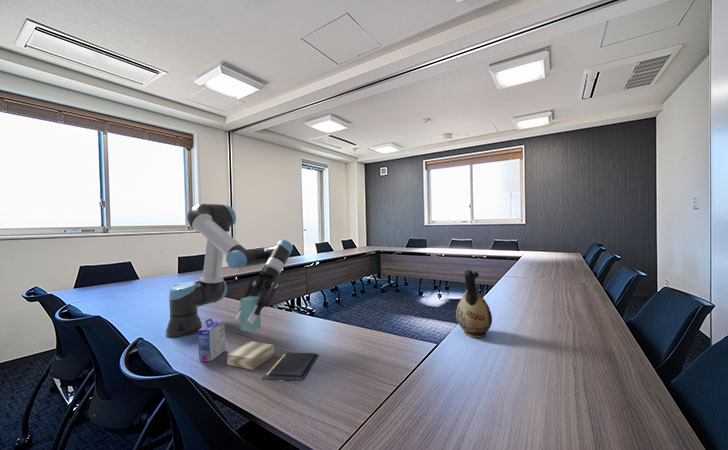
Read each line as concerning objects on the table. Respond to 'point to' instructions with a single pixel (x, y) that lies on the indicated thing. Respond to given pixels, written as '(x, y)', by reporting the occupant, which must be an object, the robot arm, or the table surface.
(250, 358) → the birch riser
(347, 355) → the table surface
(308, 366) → the wallet
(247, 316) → the teal block
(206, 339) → the ink cartridge box
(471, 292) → the ceramic jug
